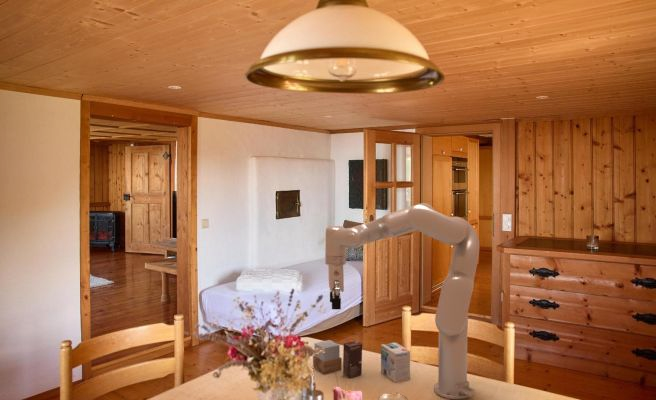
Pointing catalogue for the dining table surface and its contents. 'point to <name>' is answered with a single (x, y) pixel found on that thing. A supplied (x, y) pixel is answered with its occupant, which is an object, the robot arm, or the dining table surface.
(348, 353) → the box
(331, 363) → the tower base
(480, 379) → the dining table surface
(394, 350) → the light bulb box
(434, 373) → the dining table surface
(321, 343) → the tower top
